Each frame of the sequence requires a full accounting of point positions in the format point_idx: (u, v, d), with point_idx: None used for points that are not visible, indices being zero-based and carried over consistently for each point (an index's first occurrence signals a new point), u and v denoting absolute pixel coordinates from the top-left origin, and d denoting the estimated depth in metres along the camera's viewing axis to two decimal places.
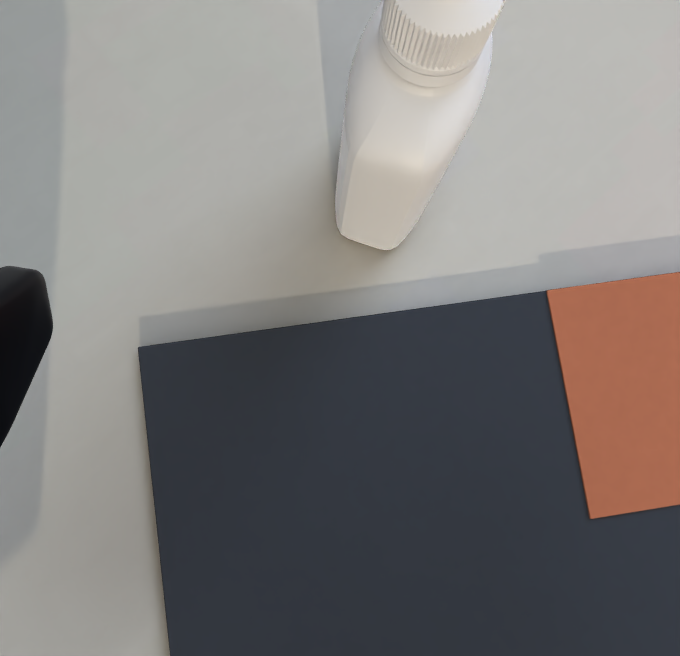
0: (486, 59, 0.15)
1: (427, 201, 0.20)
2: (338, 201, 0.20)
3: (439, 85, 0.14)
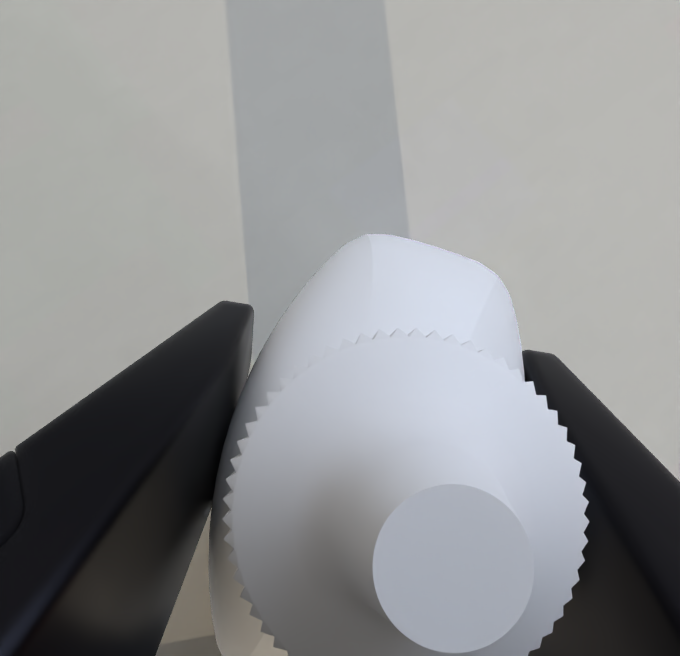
0: None
1: None
2: None
3: None
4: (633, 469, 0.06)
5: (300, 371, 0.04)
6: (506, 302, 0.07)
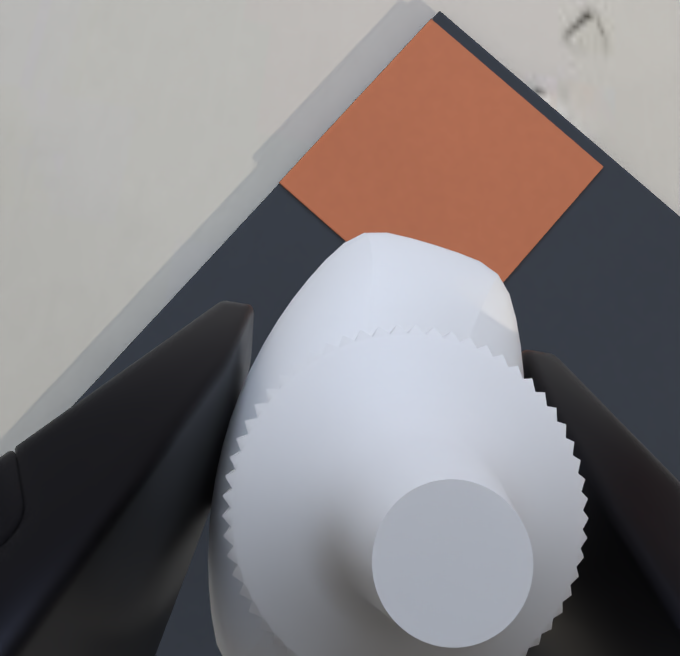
0: None
1: None
2: None
3: None
4: (633, 469, 0.06)
5: (299, 368, 0.04)
6: (505, 300, 0.07)
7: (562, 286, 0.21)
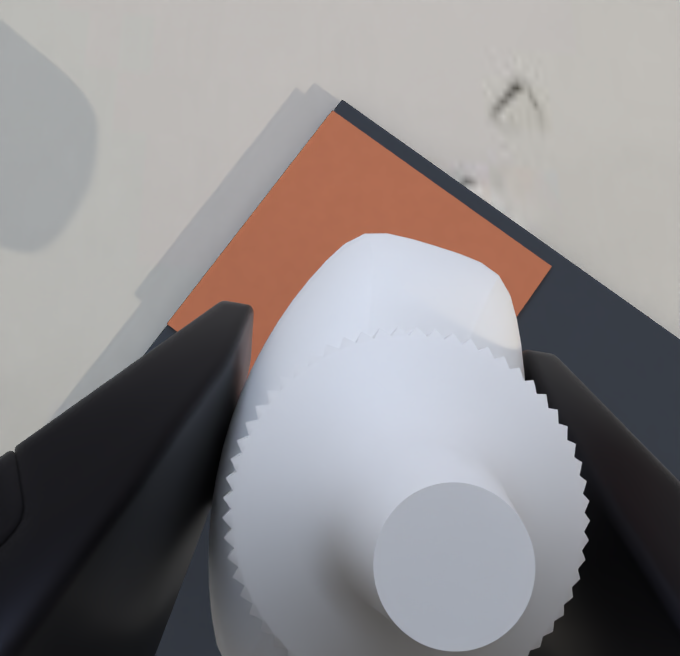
0: None
1: None
2: None
3: None
4: (633, 469, 0.06)
5: (301, 370, 0.04)
6: (506, 301, 0.07)
7: None
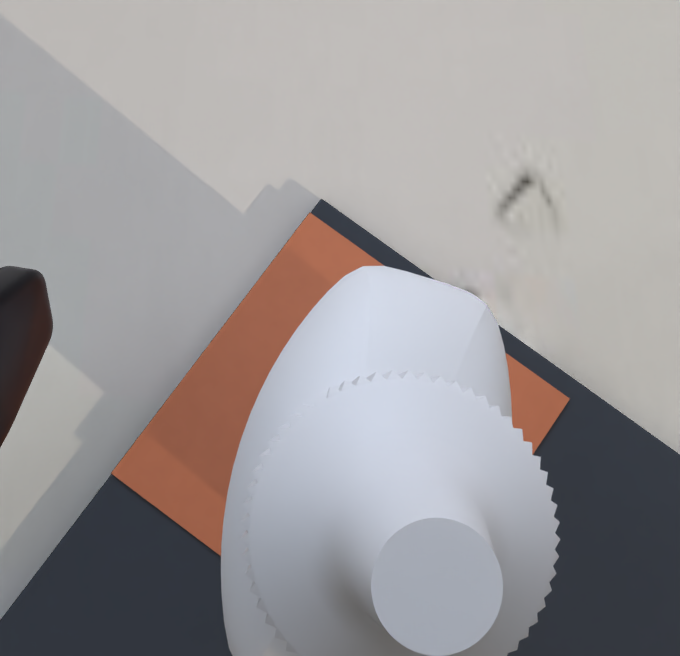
0: None
1: None
2: None
3: None
4: None
5: (307, 410, 0.05)
6: (493, 330, 0.08)
7: None
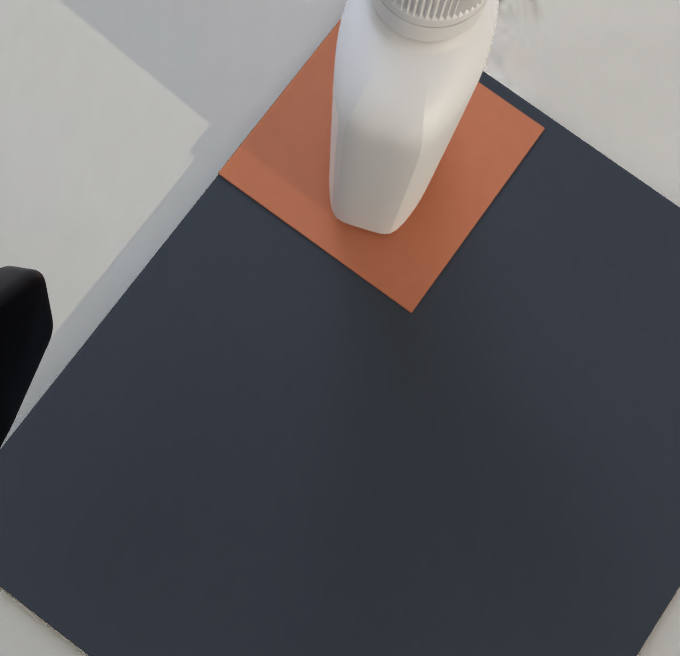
0: (492, 12, 0.13)
1: (428, 178, 0.18)
2: (331, 180, 0.18)
3: (439, 39, 0.12)
4: None
5: None
6: None
7: (515, 251, 0.21)
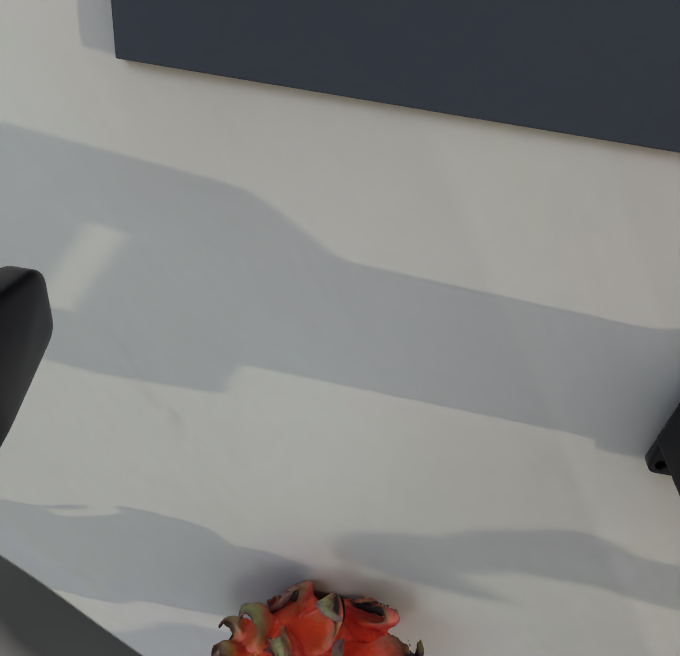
0: None
1: None
2: None
3: None
4: None
5: None
6: None
7: None
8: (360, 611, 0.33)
